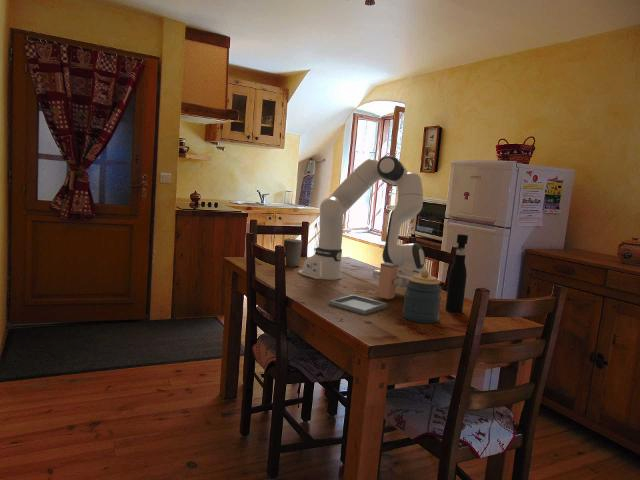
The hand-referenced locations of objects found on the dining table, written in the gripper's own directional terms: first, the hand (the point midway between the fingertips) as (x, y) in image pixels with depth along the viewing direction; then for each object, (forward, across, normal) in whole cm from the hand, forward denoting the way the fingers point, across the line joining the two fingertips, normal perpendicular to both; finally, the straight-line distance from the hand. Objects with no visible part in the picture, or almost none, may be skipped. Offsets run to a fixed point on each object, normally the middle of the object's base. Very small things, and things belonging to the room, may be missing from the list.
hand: (386, 280), depth 192 cm
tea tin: (-1, 0, +7) cm, 7 cm away
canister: (+11, +21, +9) cm, 26 cm away
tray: (+17, -2, +9) cm, 19 cm away
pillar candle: (-22, -71, +10) cm, 75 cm away
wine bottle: (-10, +25, +8) cm, 29 cm away
